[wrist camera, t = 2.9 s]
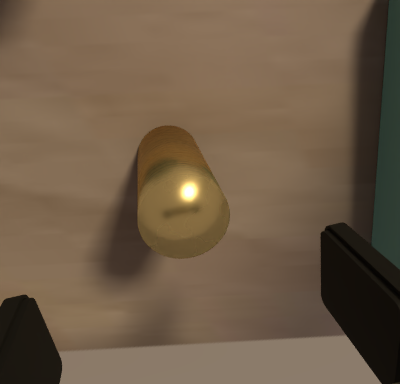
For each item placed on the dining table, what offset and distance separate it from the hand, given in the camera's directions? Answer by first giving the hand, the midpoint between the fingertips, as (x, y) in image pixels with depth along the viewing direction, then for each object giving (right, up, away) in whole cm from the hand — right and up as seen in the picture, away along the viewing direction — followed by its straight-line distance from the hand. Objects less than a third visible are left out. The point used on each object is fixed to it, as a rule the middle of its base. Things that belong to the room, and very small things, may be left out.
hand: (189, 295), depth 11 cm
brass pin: (-2, +6, +12) cm, 13 cm away
